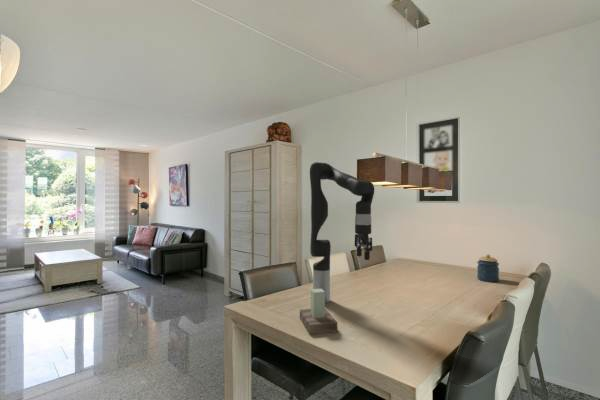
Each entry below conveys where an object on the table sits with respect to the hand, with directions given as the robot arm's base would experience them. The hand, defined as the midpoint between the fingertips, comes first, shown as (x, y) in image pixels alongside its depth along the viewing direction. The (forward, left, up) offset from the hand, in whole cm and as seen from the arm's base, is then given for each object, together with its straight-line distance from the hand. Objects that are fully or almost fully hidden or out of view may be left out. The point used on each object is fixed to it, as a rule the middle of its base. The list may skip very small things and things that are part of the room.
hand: (362, 257), depth 145 cm
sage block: (+4, -23, -24) cm, 33 cm away
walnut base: (+4, -23, -28) cm, 36 cm away
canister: (-45, +113, -28) cm, 124 cm away
